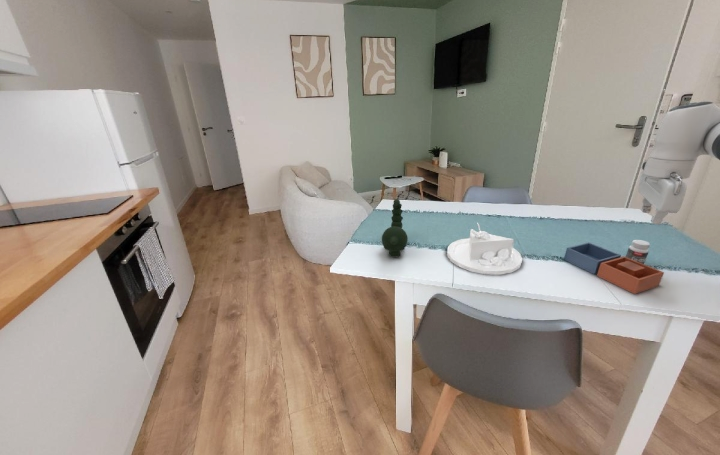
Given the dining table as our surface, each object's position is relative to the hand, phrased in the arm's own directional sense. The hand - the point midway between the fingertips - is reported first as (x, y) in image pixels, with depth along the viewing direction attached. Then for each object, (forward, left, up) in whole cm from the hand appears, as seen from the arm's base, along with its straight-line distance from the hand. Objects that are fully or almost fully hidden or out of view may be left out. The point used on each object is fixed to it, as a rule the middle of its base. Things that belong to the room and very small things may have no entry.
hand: (649, 217), depth 82 cm
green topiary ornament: (+45, +58, -19) cm, 76 cm away
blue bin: (+9, +4, -19) cm, 21 cm away
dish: (+27, +32, -19) cm, 46 cm away
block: (-2, +4, -18) cm, 19 cm away
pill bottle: (+3, -7, -19) cm, 21 cm away
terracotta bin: (-2, +4, -19) cm, 20 cm away
